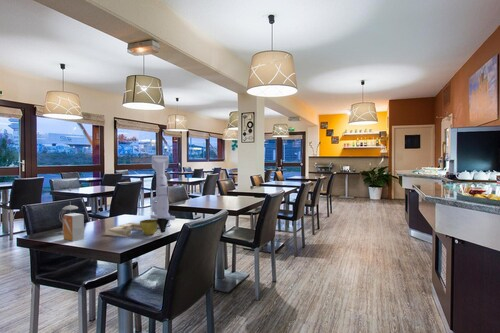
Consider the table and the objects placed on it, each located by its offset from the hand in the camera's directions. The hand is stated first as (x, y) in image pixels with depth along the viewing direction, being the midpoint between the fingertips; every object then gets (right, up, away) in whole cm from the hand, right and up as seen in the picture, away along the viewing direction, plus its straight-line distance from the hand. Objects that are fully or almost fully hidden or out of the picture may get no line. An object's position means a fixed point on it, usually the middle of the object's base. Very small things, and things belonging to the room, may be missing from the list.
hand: (162, 232), depth 172 cm
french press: (-56, -2, +8) cm, 57 cm away
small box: (-44, -2, -9) cm, 45 cm away
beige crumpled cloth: (-22, -1, +7) cm, 23 cm away
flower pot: (-8, -2, +3) cm, 9 cm away
